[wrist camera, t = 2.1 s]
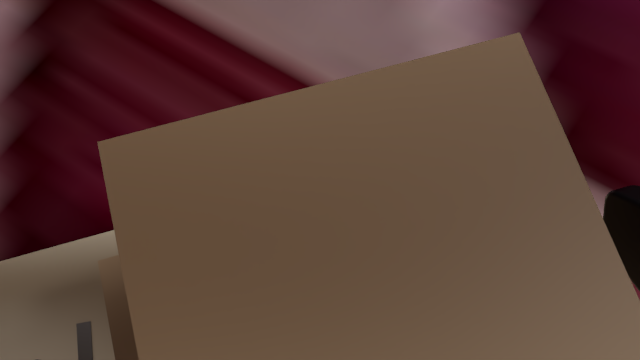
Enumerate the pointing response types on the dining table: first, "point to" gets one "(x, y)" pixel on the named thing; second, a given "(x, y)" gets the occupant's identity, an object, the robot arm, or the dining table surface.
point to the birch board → (56, 303)
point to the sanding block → (367, 225)
